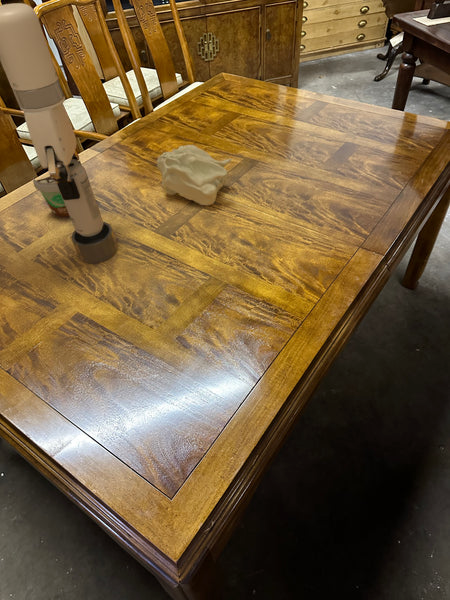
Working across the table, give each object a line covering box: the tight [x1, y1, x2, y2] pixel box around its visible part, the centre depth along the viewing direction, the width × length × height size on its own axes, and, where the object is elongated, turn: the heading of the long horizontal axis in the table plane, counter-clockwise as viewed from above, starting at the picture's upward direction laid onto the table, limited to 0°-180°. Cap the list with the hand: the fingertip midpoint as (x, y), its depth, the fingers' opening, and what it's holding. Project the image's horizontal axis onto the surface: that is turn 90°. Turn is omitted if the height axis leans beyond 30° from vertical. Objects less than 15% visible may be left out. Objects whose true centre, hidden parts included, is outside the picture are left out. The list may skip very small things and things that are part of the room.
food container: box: [32, 175, 70, 218], centre depth 102 cm, size 12×6×10 cm, turn 114°
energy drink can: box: [56, 159, 104, 237], centre depth 84 cm, size 6×6×15 cm
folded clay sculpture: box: [156, 144, 232, 207], centre depth 103 cm, size 18×13×16 cm
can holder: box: [70, 221, 119, 264], centre depth 92 cm, size 9×9×5 cm
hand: (75, 188), depth 83 cm, fingers closed on energy drink can, 6 cm apart
